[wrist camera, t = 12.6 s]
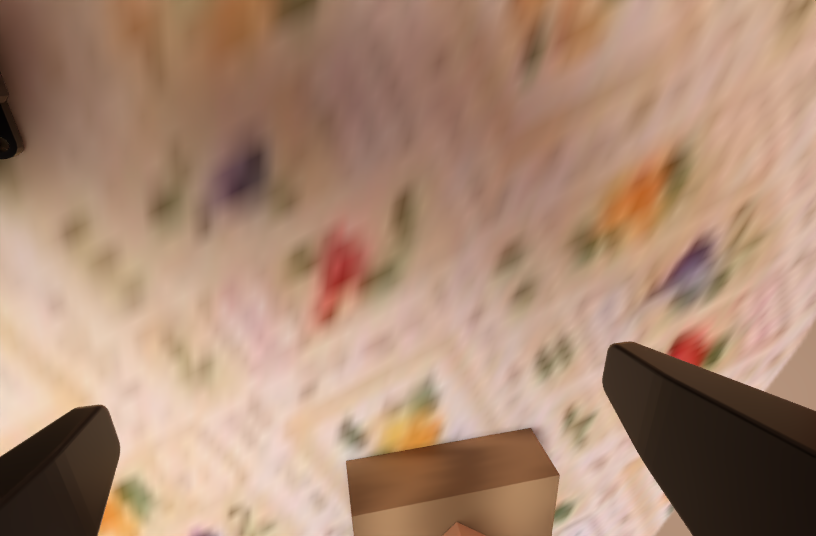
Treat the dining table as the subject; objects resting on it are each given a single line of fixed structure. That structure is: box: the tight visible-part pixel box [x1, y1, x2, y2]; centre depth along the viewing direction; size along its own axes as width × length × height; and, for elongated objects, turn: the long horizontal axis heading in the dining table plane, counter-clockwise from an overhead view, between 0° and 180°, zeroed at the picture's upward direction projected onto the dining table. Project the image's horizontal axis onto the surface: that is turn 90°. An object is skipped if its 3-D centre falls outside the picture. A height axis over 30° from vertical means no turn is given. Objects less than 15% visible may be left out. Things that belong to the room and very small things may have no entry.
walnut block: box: [346, 428, 560, 536], centre depth 28 cm, size 11×11×4 cm
